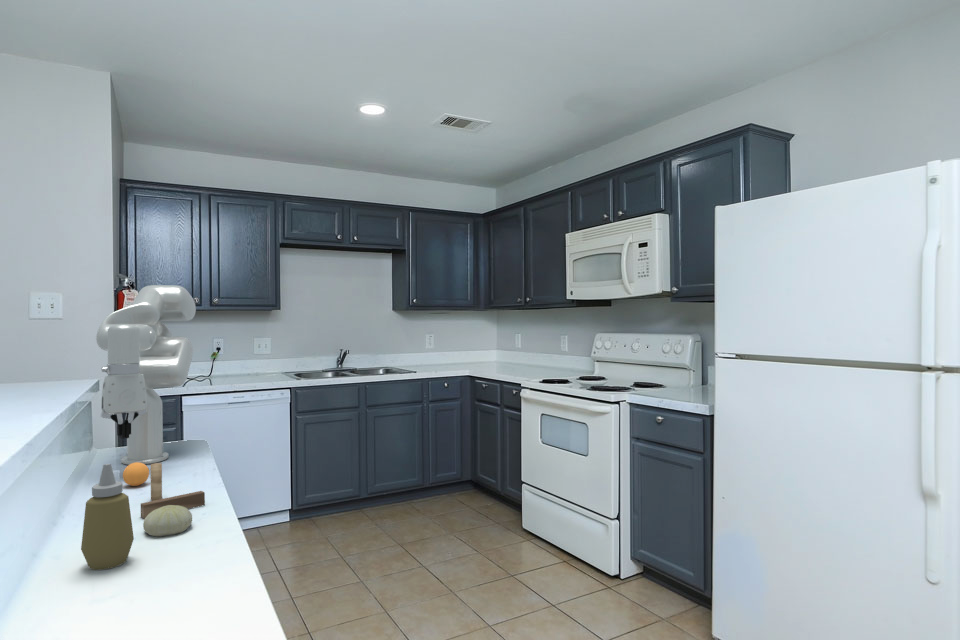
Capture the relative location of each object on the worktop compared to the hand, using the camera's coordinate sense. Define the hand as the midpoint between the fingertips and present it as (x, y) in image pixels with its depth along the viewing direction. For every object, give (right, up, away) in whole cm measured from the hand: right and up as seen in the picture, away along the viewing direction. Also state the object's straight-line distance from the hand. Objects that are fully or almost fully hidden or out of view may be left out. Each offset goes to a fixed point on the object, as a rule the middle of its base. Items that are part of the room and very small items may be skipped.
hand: (124, 437), depth 161 cm
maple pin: (+18, -12, -17) cm, 27 cm away
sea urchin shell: (+31, -12, -37) cm, 50 cm away
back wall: (+27, -12, -25) cm, 39 cm away
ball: (+7, -8, -6) cm, 12 cm away
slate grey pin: (+12, -12, -23) cm, 29 cm away
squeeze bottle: (+29, -12, -54) cm, 62 cm away
